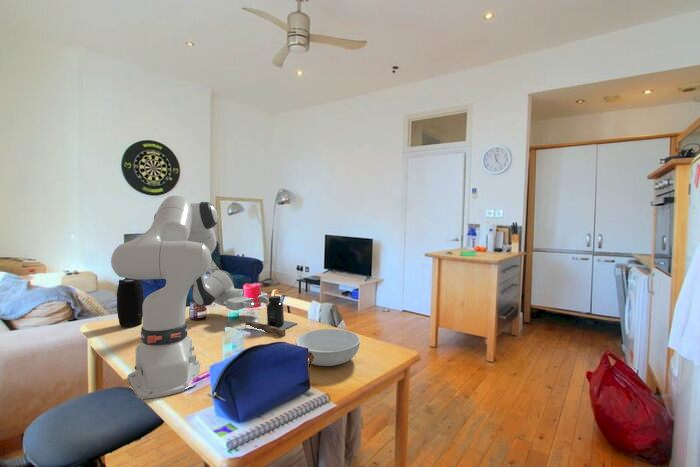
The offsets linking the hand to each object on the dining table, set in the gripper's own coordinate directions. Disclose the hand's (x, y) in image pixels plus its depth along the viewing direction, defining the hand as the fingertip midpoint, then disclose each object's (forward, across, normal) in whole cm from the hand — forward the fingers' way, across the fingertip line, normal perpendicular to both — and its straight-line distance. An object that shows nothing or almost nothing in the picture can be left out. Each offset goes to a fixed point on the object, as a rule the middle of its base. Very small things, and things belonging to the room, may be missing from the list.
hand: (260, 303), depth 150 cm
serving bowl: (+47, -18, +8) cm, 51 cm away
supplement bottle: (+10, -2, +8) cm, 13 cm away
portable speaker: (-42, -32, +8) cm, 54 cm away
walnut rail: (+11, -9, +8) cm, 16 cm away
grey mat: (+11, 0, +8) cm, 13 cm away
